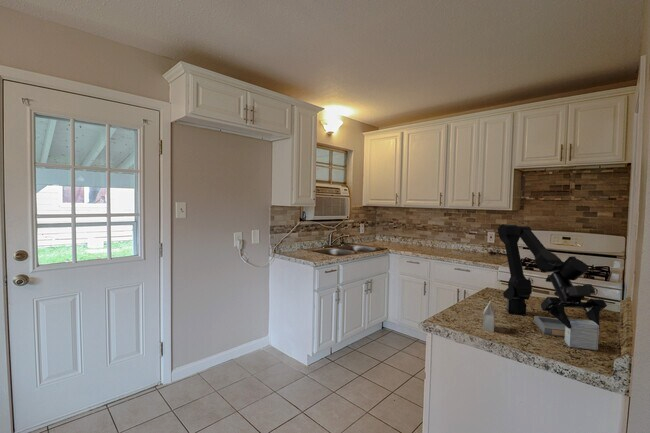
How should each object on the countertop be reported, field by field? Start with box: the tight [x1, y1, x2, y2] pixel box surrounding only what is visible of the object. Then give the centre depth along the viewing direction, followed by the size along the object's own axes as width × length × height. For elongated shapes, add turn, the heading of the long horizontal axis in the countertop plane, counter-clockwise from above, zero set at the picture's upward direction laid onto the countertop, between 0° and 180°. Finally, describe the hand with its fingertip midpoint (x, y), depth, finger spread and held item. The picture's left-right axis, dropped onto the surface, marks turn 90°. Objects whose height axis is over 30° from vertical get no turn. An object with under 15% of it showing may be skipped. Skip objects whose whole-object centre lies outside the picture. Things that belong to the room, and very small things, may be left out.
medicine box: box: [564, 317, 600, 351], centre depth 106 cm, size 8×4×9 cm, turn 71°
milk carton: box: [482, 300, 496, 333], centre depth 121 cm, size 4×7×10 cm, turn 149°
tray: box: [533, 315, 565, 338], centre depth 120 cm, size 11×13×2 cm
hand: (584, 328), depth 105 cm, fingers closed on medicine box, 8 cm apart
